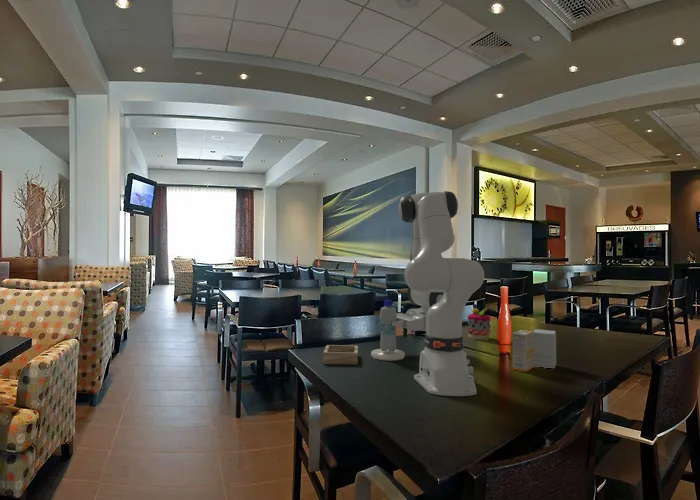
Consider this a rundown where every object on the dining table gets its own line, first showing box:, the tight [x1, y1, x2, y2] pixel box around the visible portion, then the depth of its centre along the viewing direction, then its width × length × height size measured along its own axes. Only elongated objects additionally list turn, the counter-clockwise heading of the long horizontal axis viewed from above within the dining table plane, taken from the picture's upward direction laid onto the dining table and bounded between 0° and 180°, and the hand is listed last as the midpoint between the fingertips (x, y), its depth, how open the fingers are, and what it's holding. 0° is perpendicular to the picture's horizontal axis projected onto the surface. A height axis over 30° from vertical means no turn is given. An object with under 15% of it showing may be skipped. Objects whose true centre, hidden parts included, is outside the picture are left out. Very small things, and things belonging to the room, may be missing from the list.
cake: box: [466, 306, 491, 341], centre depth 193 cm, size 10×11×15 cm
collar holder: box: [322, 344, 359, 365], centre depth 152 cm, size 12×12×4 cm
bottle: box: [379, 299, 397, 352], centre depth 157 cm, size 7×7×20 cm
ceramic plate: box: [370, 348, 406, 362], centre depth 157 cm, size 13×13×2 cm
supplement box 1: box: [512, 329, 536, 373], centre depth 142 cm, size 8×5×13 cm, turn 135°
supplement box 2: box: [533, 328, 557, 370], centre depth 146 cm, size 7×7×13 cm
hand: (386, 322), depth 157 cm, fingers closed on bottle, 6 cm apart
